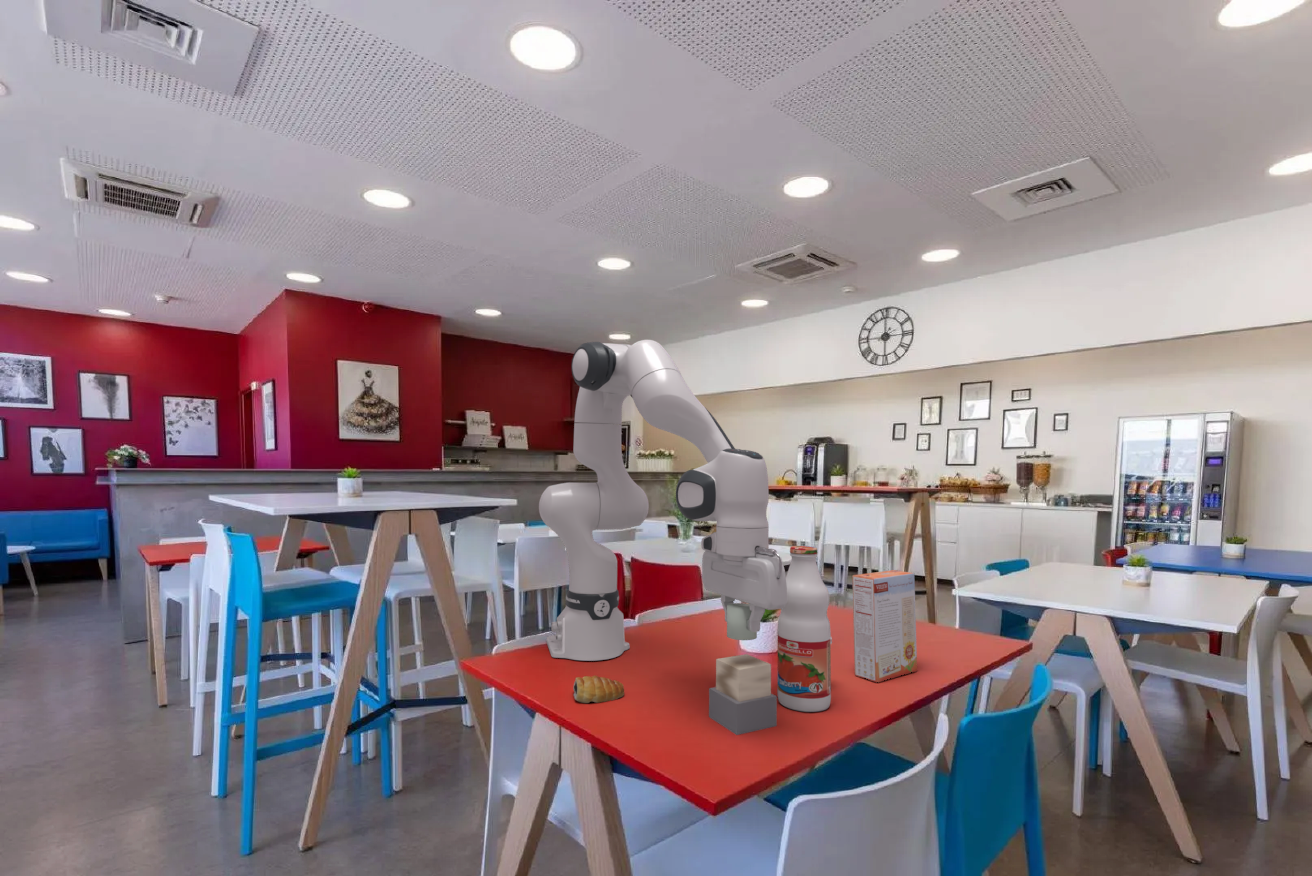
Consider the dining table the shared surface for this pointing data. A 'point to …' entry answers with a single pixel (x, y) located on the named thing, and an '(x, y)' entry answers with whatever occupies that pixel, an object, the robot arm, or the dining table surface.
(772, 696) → the tower base
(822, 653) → the fruit juice
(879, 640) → the cracker box
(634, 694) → the dining table surface
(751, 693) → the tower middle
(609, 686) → the pastry
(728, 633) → the grey round cylinder
